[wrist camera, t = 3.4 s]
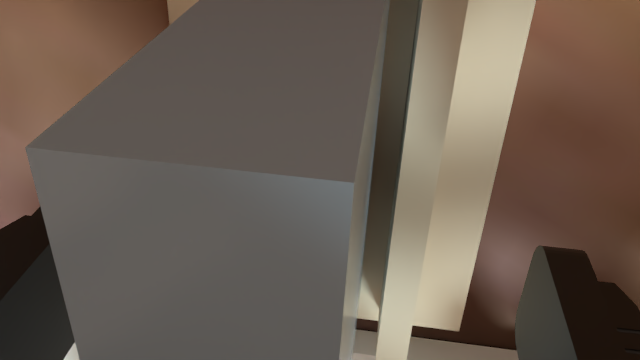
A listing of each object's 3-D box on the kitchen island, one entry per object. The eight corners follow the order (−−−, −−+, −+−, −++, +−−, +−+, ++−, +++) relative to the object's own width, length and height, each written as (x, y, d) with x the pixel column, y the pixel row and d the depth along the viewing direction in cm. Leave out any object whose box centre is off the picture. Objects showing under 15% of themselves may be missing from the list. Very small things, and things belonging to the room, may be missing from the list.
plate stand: (170, -152, 13) (108, -144, 10) (554, -131, 12) (592, -117, 9) (205, 275, 19) (172, 346, 16) (457, 307, 18) (463, 386, 16)
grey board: (299, -85, 12) (25, 146, 4) (398, -79, 12) (354, 183, 3) (292, 284, 17) (175, 729, 9) (360, 293, 17) (305, 757, 9)
